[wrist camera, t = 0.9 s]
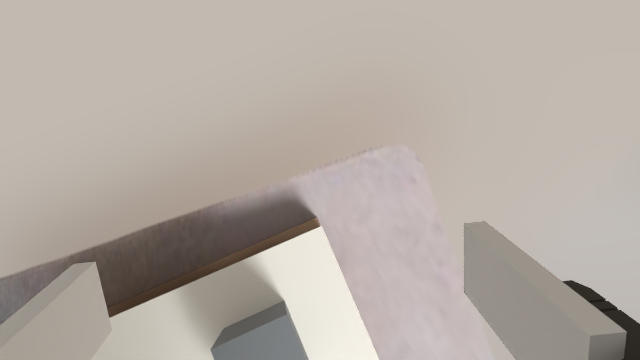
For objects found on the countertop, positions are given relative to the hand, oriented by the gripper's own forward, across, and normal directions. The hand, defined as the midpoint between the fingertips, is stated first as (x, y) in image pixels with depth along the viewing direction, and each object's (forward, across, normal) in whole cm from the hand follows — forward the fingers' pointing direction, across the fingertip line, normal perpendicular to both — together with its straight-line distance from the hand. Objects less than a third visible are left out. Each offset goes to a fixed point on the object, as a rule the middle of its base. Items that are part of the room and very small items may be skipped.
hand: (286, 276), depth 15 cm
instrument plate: (+20, +7, +18) cm, 28 cm away
